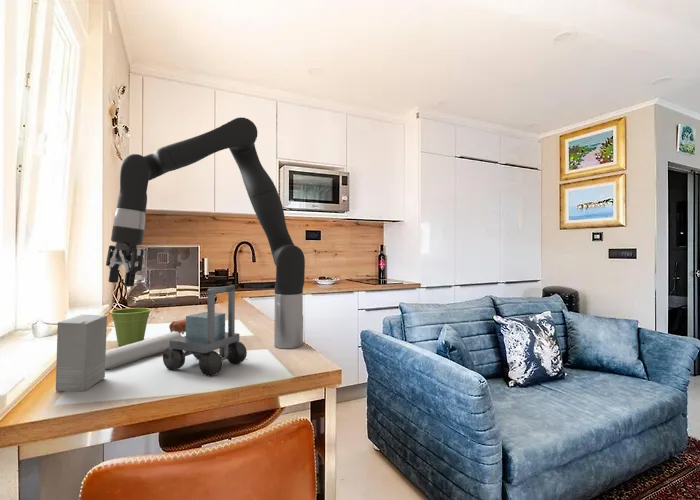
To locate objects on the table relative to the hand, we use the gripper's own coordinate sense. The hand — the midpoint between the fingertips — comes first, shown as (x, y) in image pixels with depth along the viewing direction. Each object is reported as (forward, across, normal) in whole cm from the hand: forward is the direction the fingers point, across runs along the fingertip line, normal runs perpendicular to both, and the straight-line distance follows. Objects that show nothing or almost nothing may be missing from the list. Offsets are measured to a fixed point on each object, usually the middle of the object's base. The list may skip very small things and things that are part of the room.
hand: (120, 284), depth 101 cm
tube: (+22, -1, -8) cm, 23 cm away
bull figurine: (+20, +7, -28) cm, 35 cm away
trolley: (+19, -24, -13) cm, 33 cm away
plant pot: (+22, +16, -14) cm, 31 cm away
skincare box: (+22, -12, +11) cm, 28 cm away
